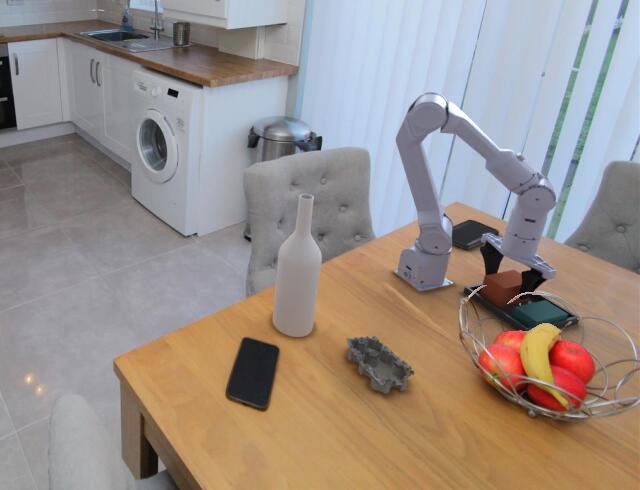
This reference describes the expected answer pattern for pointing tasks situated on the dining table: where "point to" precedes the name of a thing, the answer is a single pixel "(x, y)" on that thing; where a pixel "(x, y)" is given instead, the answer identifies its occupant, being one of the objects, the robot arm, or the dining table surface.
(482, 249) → the robot arm
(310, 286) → the bottle
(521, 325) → the pad tray
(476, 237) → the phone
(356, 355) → the egg carton
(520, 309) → the teal pad
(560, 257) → the dining table surface
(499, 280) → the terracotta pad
